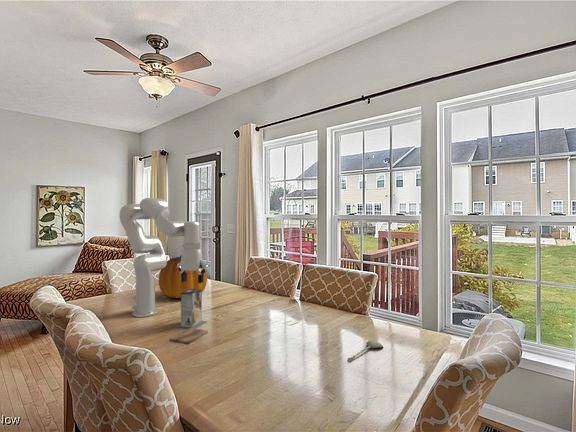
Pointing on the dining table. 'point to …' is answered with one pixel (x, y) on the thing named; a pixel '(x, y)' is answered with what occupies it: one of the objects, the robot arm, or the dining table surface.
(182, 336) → the walnut pad
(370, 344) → the soupspoon
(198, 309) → the coffee box
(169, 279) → the decorative pumpkin
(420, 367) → the dining table surface
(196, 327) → the color patch mat
